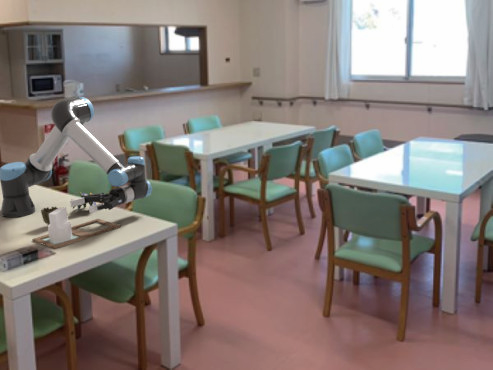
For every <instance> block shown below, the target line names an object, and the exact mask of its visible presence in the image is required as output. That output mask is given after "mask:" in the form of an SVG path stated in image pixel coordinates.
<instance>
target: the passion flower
mask: <svg viewBox="0 0 493 370" xmlns="http://www.w3.org/2000/svg"><path fill="white" fill-rule="evenodd" d="M78 194H79V195H80V197H81V196H84V195H88V194H87V193H84V192H81V191H79V193H78ZM92 194H94V193H93V192H90V193H89V195H92ZM88 204H89V206H93V205H96V204H97V202H89V203H88ZM82 206H83V208H84V209H85V208H87V203H85V204H82V205H78V206H74V207H72V210H73V209H75V208H76V207H77V211H76V212H77V213H78V212H79V210H81V207H82Z"/></svg>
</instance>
